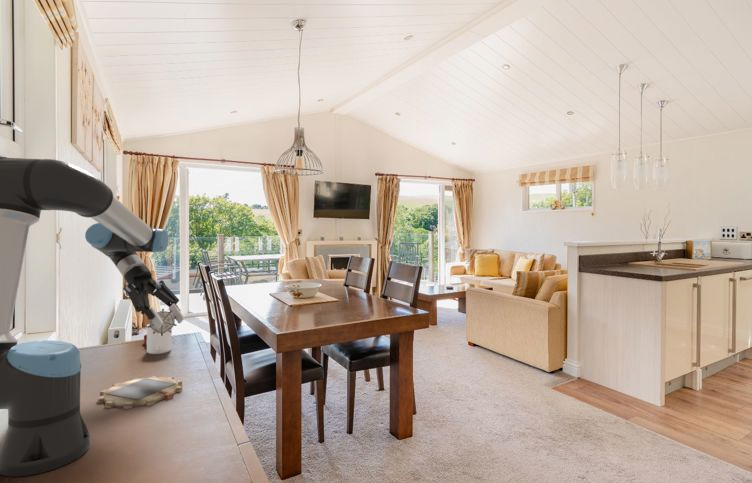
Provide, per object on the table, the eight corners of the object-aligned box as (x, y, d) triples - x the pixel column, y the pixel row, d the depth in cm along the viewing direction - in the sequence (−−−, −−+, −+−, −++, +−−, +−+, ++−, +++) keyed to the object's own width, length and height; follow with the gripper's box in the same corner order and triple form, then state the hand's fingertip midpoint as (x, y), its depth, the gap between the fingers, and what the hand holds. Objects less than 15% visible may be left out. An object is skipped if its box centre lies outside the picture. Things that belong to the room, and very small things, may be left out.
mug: (145, 358, 150) (145, 329, 150) (147, 349, 160) (147, 323, 160) (171, 355, 154) (171, 327, 154) (171, 347, 164) (171, 321, 164)
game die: (168, 345, 132) (187, 321, 131) (143, 340, 125) (163, 315, 125) (161, 327, 137) (179, 305, 137) (137, 322, 131) (156, 298, 130)
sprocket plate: (137, 414, 104) (137, 408, 104) (79, 401, 111) (79, 396, 111) (198, 385, 125) (198, 380, 125) (145, 376, 131) (145, 371, 131)
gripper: (154, 276, 146) (189, 324, 141) (99, 281, 127) (136, 337, 121) (166, 262, 144) (201, 310, 139) (111, 265, 125) (150, 321, 120)
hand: (171, 323), depth 130 cm, fingers closed on game die, 8 cm apart
